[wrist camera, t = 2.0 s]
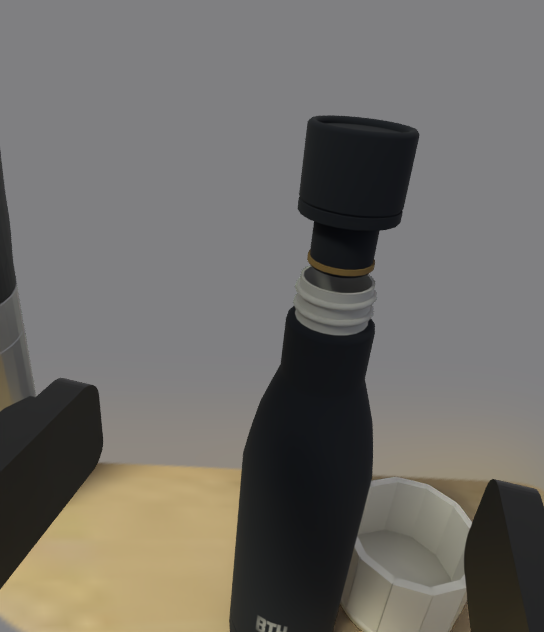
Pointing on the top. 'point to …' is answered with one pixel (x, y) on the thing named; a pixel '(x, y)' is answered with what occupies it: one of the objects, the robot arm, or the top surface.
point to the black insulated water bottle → (320, 388)
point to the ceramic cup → (407, 560)
